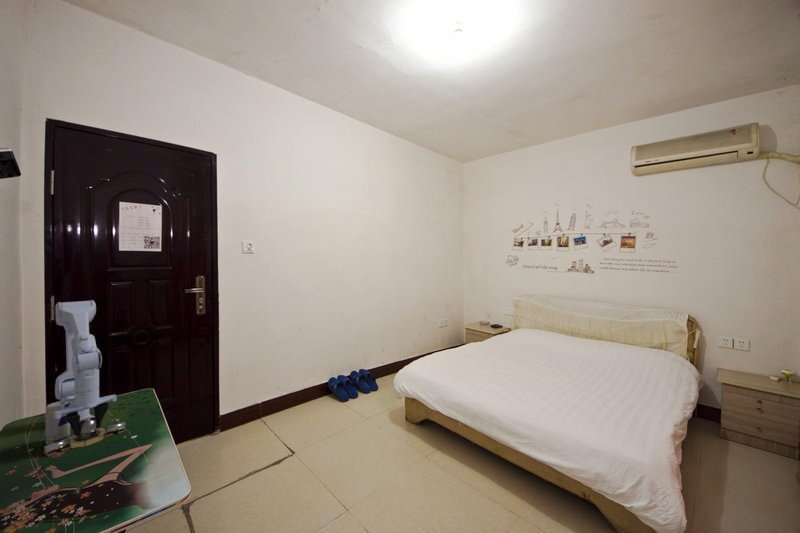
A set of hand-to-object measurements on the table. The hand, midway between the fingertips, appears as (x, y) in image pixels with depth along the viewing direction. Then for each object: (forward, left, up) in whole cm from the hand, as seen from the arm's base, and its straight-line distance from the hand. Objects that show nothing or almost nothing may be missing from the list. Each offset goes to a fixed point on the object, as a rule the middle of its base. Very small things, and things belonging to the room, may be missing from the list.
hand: (87, 431), depth 102 cm
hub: (0, 0, -2) cm, 2 cm away
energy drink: (-8, -4, -3) cm, 10 cm away
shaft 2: (+2, +6, -3) cm, 7 cm away
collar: (0, 0, -3) cm, 3 cm away
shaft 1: (0, -7, -3) cm, 7 cm away
